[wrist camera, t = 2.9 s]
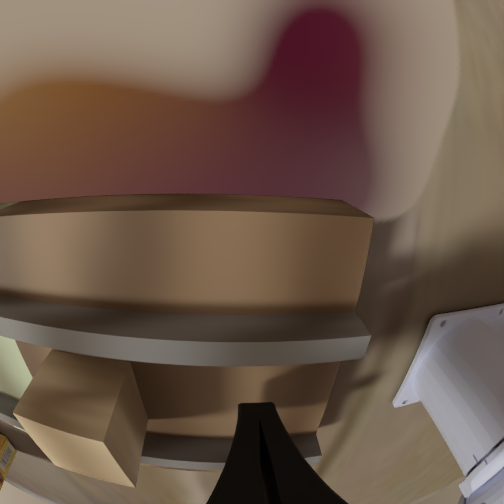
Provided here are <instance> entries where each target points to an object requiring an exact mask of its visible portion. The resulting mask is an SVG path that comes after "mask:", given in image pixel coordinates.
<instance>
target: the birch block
mask: <svg viewBox="0 0 504 504" xmlns="http://www.w3.org/2000/svg"><path fill="white" fill-rule="evenodd" d="M13 414H14V416H15V417H16V418H17V420H18V421H19V422H20V424H21V425H22V426H23V428H24V429H25V430H26V432H27V433H28V434H29V435H30V437H31V438H32V439H33V440H34V442H35V443H36V444H37V445H38V446H39V447H40V449H41V450H42V451H43V452H44V453H45V454H46V455H47V457H48V458H49V459H50V460H51V461H52V462H53V463H54V464H55V465H56V466H59V467H62V468H64V469H67V470H70V471H73V472H76V473H79V474H83V475H86V476H89V477H93V478H96V479H100V480H104V481H108V482H112V483H116V484H121V485H125V486H130V487H136V481H137V475H138V470H139V464H140V459H141V454H142V449H143V444H144V439H145V434H146V429H147V424H148V420H149V419H148V416H147V414H146V411H145V408H144V405H143V402H142V399H141V396H140V393H139V390H138V386H137V383H136V380H135V376H134V373H133V369H132V366H131V362H126V361H117V360H110V359H103V358H96V357H89V356H83V355H77V354H72V353H67V352H61V351H56V350H51V351H50V353H49V354H48V356H47V357H46V359H45V360H44V362H43V363H42V365H41V366H40V368H39V369H38V371H37V373H36V374H35V376H34V377H33V379H32V380H31V382H30V384H29V385H28V387H27V389H26V390H25V392H24V393H23V395H22V397H21V399H20V400H19V402H18V404H17V405H16V407H15V409H14V411H13Z"/></svg>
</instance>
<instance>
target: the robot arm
mask: <svg viewBox="0 0 504 504" xmlns="http://www.w3.org/2000/svg"><path fill="white" fill-rule="evenodd" d="M418 401H421V402H422V404H423V405H424V407H425V408H426V410H427V412H428V413H429V415H430V416H431V418H432V420H433V421H434V423H435V425H436V426H437V428H438V430H439V431H440V433H441V435H442V436H443V438H444V440H445V442H446V443H447V445H448V447H449V449H450V450H451V452H452V454H453V456H454V457H455V459H456V461H457V463H458V465H459V466H460V468H461V470H462V472H463V474H464V476H465V477H467V478H466V479H465V480H464V481H463V482H462V483H460V485H459V487H460V489H461V491H462V493H463V494H462V496H461V498H460V500H459V502H458V504H504V303H502V304H497V305H492V306H487V307H481V308H476V309H470V310H464V311H458V312H451V313H444V314H437V315H435V316H433V317H432V318H431V320H430V321H429V324H428V326H427V329H426V332H425V334H424V337H423V339H422V341H421V344H420V346H419V349H418V351H417V353H416V355H415V358H414V360H413V362H412V364H411V366H410V369H409V371H408V373H407V375H406V377H405V379H404V381H403V383H402V385H401V387H400V389H399V391H398V393H397V395H396V396H395V398H394V400H393V402H392V403H393V405H394V407H400V406H404V405H408V404H411V403H415V402H418ZM206 504H348V503H347V502H346V501H344V500H343V499H342V498H341V497H340V496H339V495H337V494H336V493H335V492H334V491H333V490H332V489H331V488H330V487H329V486H328V485H327V484H326V483H325V482H324V481H323V480H322V479H321V478H320V477H319V476H318V474H317V473H316V472H315V471H314V470H313V469H312V467H311V466H310V465H309V464H308V462H307V461H306V460H305V458H304V457H303V456H302V454H301V453H300V451H299V450H298V448H297V447H296V445H295V444H294V442H293V440H292V439H291V437H290V436H289V434H288V432H287V430H286V428H285V427H284V425H283V423H282V421H281V419H280V417H279V414H278V412H277V410H276V407H275V404H274V403H273V402H259V403H240V404H238V418H237V425H236V430H235V434H234V438H233V442H232V445H231V449H230V452H229V455H228V458H227V460H226V463H225V466H224V468H223V471H222V473H221V476H220V478H219V480H218V482H217V484H216V486H215V488H214V490H213V492H212V494H211V496H210V498H209V500H208V502H207V503H206Z"/></svg>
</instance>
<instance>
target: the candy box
mask: <svg viewBox="0 0 504 504" xmlns="http://www.w3.org/2000/svg"><path fill="white" fill-rule="evenodd" d="M16 453H17V451H16V449H15V448H14V447H13V445H12V444H11V443H10V441H9V440H8V438H7V437H6V436H4V435H2V434H0V490H1V487H2V485H3V482H4V480H5V477H6V475H7V473H8V470H9V468H10V466H11V464H12V461H13V459H14V457H15V455H16Z"/></svg>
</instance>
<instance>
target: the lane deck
mask: <svg viewBox="0 0 504 504" xmlns="http://www.w3.org/2000/svg"><path fill="white" fill-rule="evenodd" d="M373 222H374V218H373V217H371V216H370V215H368V214H366V213H364V212H362V211H361V210H359V209H357V208H355V207H353V206H351V205H350V204H348V203H346V202H344V201H342V200H333V199H320V198H305V197H304V198H303V197H286V196H266V195H237V194H137V195H136V194H133V195H105V196H86V197H69V198H55V199H43V200H31V201H21V202H12V203H3V204H0V420H1V421H3V422H5V423H7V424H9V425H11V426H14V427H16V428H18V429H20V430H22V431H25V432H26V430H25V429H24V428H23V426H22V425H21V424H20V422H19V421H18V420H17V418H16V417H15V416H14V414H13V411H14V409H15V407H16V405H17V404H18V402H19V400H20V399H21V397H22V395H23V393H24V392H25V390H26V389H27V387H28V385H29V384H30V382H31V380H32V379H33V377H34V376H35V374H36V373H37V371H38V369H39V368H40V366H41V365H42V363H43V362H44V360H45V359H46V357H47V356H48V354H49V353H50V351H51V350H56V351H61V352H67V353H72V354H77V355H83V356H89V357H96V358H103V359H110V360H117V361H126V362H131V366H132V369H133V373H134V376H135V380H136V383H137V386H138V390H139V393H140V396H141V399H142V402H143V405H144V408H145V411H146V414H147V416H148V419H149V420H148V424H147V429H146V434H145V439H144V444H143V449H142V454H141V459H140V464H139V465H145V466H151V467H159V468H167V469H177V470H188V471H205V472H222V471H223V468H224V466H225V463H226V460H227V458H228V455H229V452H230V449H231V445H232V442H233V438H234V434H235V430H236V425H237V418H238V404H240V403H259V402H273V403H274V404H275V407H276V410H277V412H278V414H279V417H280V419H281V421H282V423H283V425H284V427H285V428H286V430H287V432H288V434H289V436H290V437H291V439H292V440H293V442H294V444H295V445H296V447H297V448H298V450H299V451H300V453H301V454H302V456H303V457H304V458H305V460H306V461H307V462H308V464H309V465H311V464H318V462H319V460H320V458H321V456H322V454H321V450H320V447H319V443H318V440H317V436H316V432H317V430H318V427H319V425H320V422H321V419H322V417H323V414H324V411H325V409H326V406H327V403H328V400H329V398H330V395H331V392H332V389H333V386H334V383H335V380H336V377H337V374H338V371H339V368H340V364H341V361H346V360H354V359H362V358H364V356H365V354H366V351H367V348H368V345H369V342H370V339H371V336H372V335H371V334H370V332H369V331H368V329H367V328H366V327H365V325H364V324H363V322H362V321H361V319H360V318H359V316H358V315H357V313H356V312H355V311H356V307H357V303H358V299H359V294H360V290H361V286H362V281H363V276H364V272H365V267H366V262H367V257H368V251H369V246H370V240H371V234H372V228H373Z"/></svg>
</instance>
